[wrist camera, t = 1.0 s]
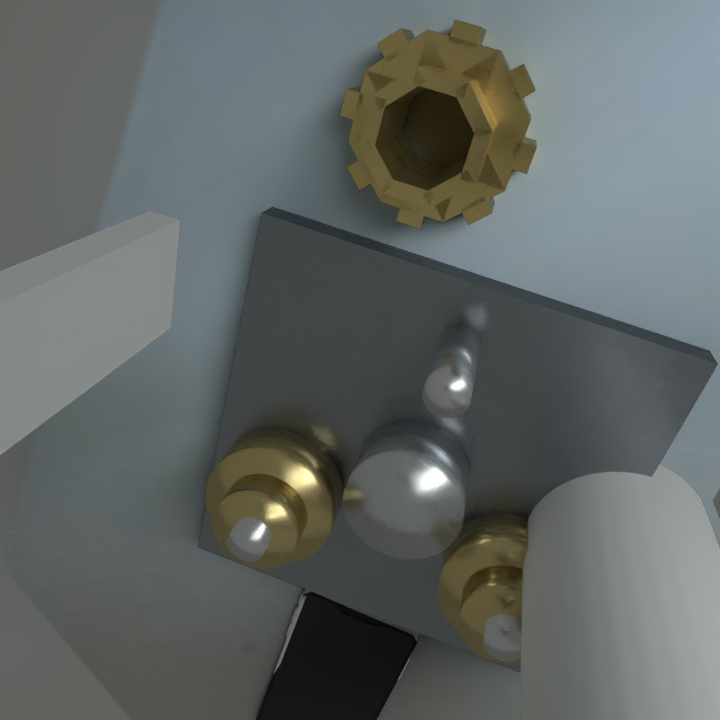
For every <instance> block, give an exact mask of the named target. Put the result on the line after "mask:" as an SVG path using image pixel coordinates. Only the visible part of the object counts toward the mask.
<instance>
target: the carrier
mask: <svg viewBox="0 0 720 720" xmlns="http://www.w3.org/2000/svg"><path fill="white" fill-rule="evenodd" d="M717 365H718V363H717V362H716V360H715V358H714V357H713V355H712V354H711V352H710V351H709V350H706V349H702V348H699V347H696V346H693V345H690V344H687V343H684V342H681V341H678V340H675V339H672V338H669V337H666V336H663V335H660V334H657V333H654V332H651V331H648V330H645V329H642V328H639V327H636V326H633V325H630V324H627V323H624V322H620V321H617V320H614V319H611V318H608V317H605V316H602V315H599V314H596V313H593V312H590V311H587V310H584V309H581V308H578V307H575V306H572V305H569V304H566V303H563V302H560V301H557V300H554V299H551V298H548V297H545V296H541V295H538V294H535V293H532V292H529V291H526V290H523V289H520V288H517V287H514V286H511V285H508V284H505V283H502V282H499V281H496V280H493V279H490V278H487V277H484V276H481V275H478V274H475V273H472V272H469V271H466V270H463V269H459V268H456V267H453V266H450V265H447V264H444V263H441V262H438V261H435V260H432V259H429V258H426V257H423V256H420V255H417V254H414V253H411V252H408V251H405V250H402V249H399V248H396V247H393V246H390V245H387V244H384V243H381V242H377V241H374V240H371V239H368V238H365V237H362V236H359V235H356V234H353V233H350V232H347V231H344V230H341V229H338V228H335V227H332V226H329V225H326V224H323V223H320V222H317V221H314V220H311V219H308V218H305V217H302V216H299V215H295V214H292V213H289V212H286V211H283V210H280V209H277V208H274V207H272V208H270V209H268V210H266V211H265V212H263V213H262V214H261V219H260V225H259V230H258V235H257V240H256V245H255V251H254V256H253V261H252V266H251V271H250V277H249V282H248V287H247V292H246V298H245V303H244V308H243V313H242V318H241V324H240V329H239V334H238V339H237V344H236V350H235V355H234V360H233V365H232V370H231V376H230V381H229V386H228V391H227V396H226V402H225V407H224V412H223V417H222V422H221V428H220V433H219V438H218V443H217V449H216V454H215V459H214V464H213V469H212V473H211V474H210V477H209V479H208V481H207V485H206V491H205V499H206V506H205V511H204V516H203V521H202V527H201V532H200V537H199V542H198V547H199V548H201V549H204V550H206V551H209V552H212V553H214V554H217V555H219V556H222V557H224V558H227V559H230V560H232V561H235V562H237V563H240V564H242V565H245V566H248V567H250V568H253V569H255V570H258V571H260V572H263V573H266V574H268V575H271V576H273V577H276V578H278V579H281V580H284V581H286V582H289V583H291V584H294V585H296V586H299V587H302V588H304V589H307V590H309V591H312V592H314V593H317V594H320V595H322V596H325V597H327V598H330V599H332V600H335V601H338V602H340V603H343V604H345V605H348V606H350V607H353V608H356V609H358V610H361V611H363V612H366V613H368V614H371V615H374V616H376V617H379V618H381V619H384V620H386V621H389V622H392V623H394V624H397V625H399V626H402V627H405V628H407V629H410V630H412V631H415V632H417V633H420V634H423V635H425V636H428V637H430V638H433V639H435V640H438V641H441V642H443V643H446V644H448V645H451V646H453V647H456V648H459V649H461V650H464V651H466V652H469V653H471V654H474V655H477V656H479V657H482V658H484V659H487V660H489V661H492V662H495V663H497V664H500V665H502V666H505V667H507V668H510V669H513V670H515V671H518V672H520V673H521V629H522V580H523V563H524V559H525V555H526V552H527V550H528V518H529V516H530V514H531V512H532V511H533V509H534V508H535V506H536V505H537V504H538V503H539V502H540V501H541V499H542V498H543V497H544V496H546V495H547V494H548V493H549V492H551V491H552V490H554V489H555V488H557V487H558V486H560V485H562V484H564V483H566V482H568V481H570V480H573V479H575V478H578V477H582V476H585V475H589V474H594V473H603V472H629V473H636V474H641V475H646V476H650V477H652V476H653V474H654V473H655V471H656V469H657V468H658V466H659V464H660V462H661V461H662V459H663V457H664V456H665V454H666V452H667V450H668V449H669V447H670V445H671V444H672V442H673V440H674V438H675V437H676V435H677V433H678V432H679V430H680V428H681V426H682V425H683V423H684V421H685V420H686V418H687V416H688V414H689V413H690V411H691V409H692V408H693V406H694V404H695V402H696V401H697V399H698V397H699V396H700V394H701V392H702V390H703V389H704V387H705V385H706V384H707V382H708V380H709V378H710V377H711V375H712V373H713V372H714V370H715V368H716V366H717Z"/></svg>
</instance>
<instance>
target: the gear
mask: <svg viewBox="0 0 720 720" xmlns="http://www.w3.org/2000/svg"><path fill="white" fill-rule="evenodd" d="M485 32H486V30H485V29H484V28H482V27H479V26H476V25H472V24H469V23H466V22H462V21H459V20H454V24H453V27H452V30H451V34H450V36H448V35H444V34H441V33H438V32H434V31H431V30H427V31H425V32H424V33H422V34H421V35H419V36H417V37H416V38H415V37H414V35H413V33H412V31H410V30H407V29H403V28H400V29H399V30H397V31H396V32H394V33H393V34H391V35H389V36H388V37H386V38H385V39H383V40H382V41H380V42H379V43H377V44H378V46H379V48H380V50H381V52H382V54H383V56H384V58H383V59H382V60H380V61H379V62H377V63H376V64H374V65H372V66H371V67H369V68H368V69H366V70H365V74H364V78H363V82H362V86H361V87H355V88H348V89H346V92H345V97H344V101H343V105H342V110H341V114H340V116H342V117H346V118H349V119H352V120H353V123H352V128H351V132H350V136H349V140H348V142H349V144H350V146H351V147H352V149H353V151H354V153H355V155H356V157H357V159H358V161H357V162H355V163H353V164H351V165H350V166H348V167H347V168H348V170H349V172H350V174H351V176H352V178H353V180H354V181H355V183H356V185H357V187H358V189H359V190H360V189H362V188H363V187H365V186H367V185H369V184H371V185H372V187H373V189H374V191H375V192H376V194H377V196H378V198H379V200H380V202H382V203H385V204H388V205H392V206H395V207H398V208H400V210H399V213H398V216H397V220H396V221H397V222H400V223H403V224H406V225H409V226H412V227H416V228H419V229H420V228H421V226H422V225H423V223H424V222H425V220H426V219H427V217H429V218H432V219H435V220H438V221H441V222H445V221H447V220H449V219H451V218H452V217H454V216H456V215H458V214H460V213H462V214H463V216H464V218H465V220H466V222H467V224H468V225H469V224H471V223H473V222H475V221H477V220H479V219H481V218H483V217H485V216H487V215H489V214H491V213H492V210H493V206H494V200H493V198H492V197H494V196H496V195H498V194H500V193H501V192H503V191H505V189H506V187H507V184H508V181H509V178H510V176H511V173H512V170H516V171H519V172H522V173H526V174H527V172H528V169H529V166H530V164H531V161H532V158H533V156H534V153H535V150H536V148H537V143H536V140H533V139H530V138H526V137H525V134H526V131H527V129H528V126H529V123H530V120H531V115H530V113H529V111H528V108H527V106H526V104H525V102H524V100H523V97H525V96H527V95H529V94H530V93H532V92H534V91H535V87H534V85H533V83H532V80H531V78H530V76H529V74H528V71H527V69H526V67H525V65H524V64H523V65H521V66H519V67H518V68H516V69H514V70H512V71H510V69H509V66H508V64H507V62H506V60H505V58H504V55H503V53H502V51H499V50H496V49H492V48H489V47H485V46H482V41H483V38H484V35H485ZM427 89H431V90H434V91H437V92H441V93H444V94H447V95H451V96H454V97H457V99H458V101H459V103H460V105H461V107H462V109H463V112H464V114H465V116H466V118H467V120H468V122H469V124H470V126H471V128H472V130H473V132H474V137H473V140H472V143H471V146H470V149H469V152H468V155H467V157H466V158H464V159H462V160H460V161H459V162H457V163H455V164H453V165H451V166H449V167H448V168H445V167H441V166H438V165H435V164H432V163H429V162H425V161H422V160H419V159H417V157H416V155H415V153H414V151H413V149H412V147H411V145H410V144H409V142H408V140H407V138H406V136H405V134H404V132H403V129H404V125H405V121H406V118H407V114H408V111H409V107H410V103H411V100H412V98H414V97H415V96H417V95H419V94H420V93H422V92H424V91H425V90H427Z"/></svg>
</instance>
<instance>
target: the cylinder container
mask: <svg viewBox="0 0 720 720" xmlns="http://www.w3.org/2000/svg"><path fill="white" fill-rule="evenodd" d="M520 720H720V548H719V545H718V543H717V540H716V537H715V535H714V532H713V530H712V527H711V525H710V522H709V519H708V517H707V514H706V512H705V509H704V506H703V504H702V502H701V500H700V498H699V497H698V495H697V494H696V493H695V491H694V490H693V489H692V488H691V486H690V485H689V484H688V483H686V482H685V481H684V480H683V479H682V478H681V477H680V476H678V475H677V474H675V473H674V472H672V471H670V470H669V469H667V468H665V467H663V466H661V465H659V466H658V468H657V469H656V471H655V473H654V474H653V476H652V477H650V476H646V475H641V474H636V473H629V472H603V473H594V474H589V475H585V476H582V477H578V478H575V479H573V480H570V481H568V482H566V483H564V484H562V485H560V486H558V487H557V488H555V489H554V490H552V491H551V492H549V493H548V494H547V495H546V496H544V497H543V498H542V499H541V501H540V502H539V503H538V504H537V505H536V506H535V508H534V509H533V511H532V512H531V514H530V516H529V518H528V550H527V552H526V555H525V559H524V563H523V580H522V629H521V678H520Z"/></svg>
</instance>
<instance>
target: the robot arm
mask: <svg viewBox="0 0 720 720" xmlns="http://www.w3.org/2000/svg"><path fill="white" fill-rule="evenodd" d="M179 230H180V220H179V219H176V218H172V217H169V216H165V215H162V214H159V213H155V212H152V211H148V212H145V213H143V214H140V215H138V216H135V217H133V218H131V219H128V220H126V221H123V222H121V223H118V224H116V225H113V226H111V227H108V228H106V229H103V230H101V231H98V232H96V233H93V234H91V235H89V236H86V237H84V238H81V239H79V240H76V241H74V242H71V243H69V244H66V245H64V246H62V247H59V248H56V249H54V250H52V251H49V252H47V253H44V254H42V255H39V256H37V257H34V258H32V259H29V260H27V261H25V262H22V263H20V264H17V265H15V266H12V267H10V268H7V269H5V270H2V271H0V455H1V454H2V453H4V452H5V451H6V450H8V449H9V448H10V447H12V446H13V445H14V444H16V443H17V442H19V441H20V440H21V439H23V438H24V437H25V436H27V435H28V434H29V433H31V432H32V431H33V430H35V429H36V428H37V427H39V426H40V425H41V424H43V423H44V422H45V421H47V420H48V419H49V418H51V417H52V416H53V415H55V414H56V413H57V412H59V411H60V410H61V409H63V408H64V407H65V406H67V405H68V404H69V403H71V402H72V401H73V400H75V399H76V398H78V397H79V396H80V395H82V394H83V393H84V392H86V391H87V390H88V389H90V388H91V387H92V386H94V385H95V384H96V383H98V382H99V381H100V380H102V379H103V378H104V377H106V376H107V375H108V374H110V373H111V372H112V371H114V370H115V369H116V368H118V367H119V366H120V365H122V364H123V363H124V362H126V361H127V360H128V359H130V358H131V357H132V356H134V355H135V354H137V353H138V352H139V351H141V350H142V349H143V348H145V347H146V346H147V345H149V344H150V343H151V342H153V341H154V340H155V339H157V338H158V337H159V336H161V335H162V334H163V333H165V332H166V331H167V330H169V329H170V328H171V319H172V308H173V297H174V286H175V275H176V263H177V252H178V241H179ZM713 502H714V505H715V507H716V510H717V513H718V515H719V518H720V489H719V491H718V493H717V494H716V496H715V498H714V499H713Z"/></svg>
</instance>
